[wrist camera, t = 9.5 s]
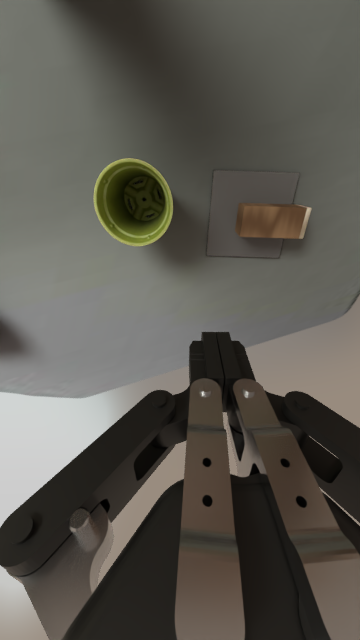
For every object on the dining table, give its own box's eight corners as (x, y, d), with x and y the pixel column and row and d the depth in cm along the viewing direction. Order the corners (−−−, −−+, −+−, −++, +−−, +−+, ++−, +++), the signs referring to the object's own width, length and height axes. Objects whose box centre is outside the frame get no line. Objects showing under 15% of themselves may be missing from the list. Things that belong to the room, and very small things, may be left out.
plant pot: (129, 240, 39) (116, 256, 32) (100, 176, 34) (78, 177, 27) (183, 220, 37) (183, 231, 30) (161, 150, 33) (154, 143, 25)
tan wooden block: (299, 204, 35) (238, 202, 35) (311, 208, 32) (244, 205, 32) (292, 232, 37) (234, 230, 37) (302, 238, 34) (239, 236, 34)
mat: (213, 170, 34) (213, 170, 33) (298, 172, 34) (299, 172, 33) (206, 254, 40) (206, 255, 40) (278, 257, 40) (278, 257, 40)
